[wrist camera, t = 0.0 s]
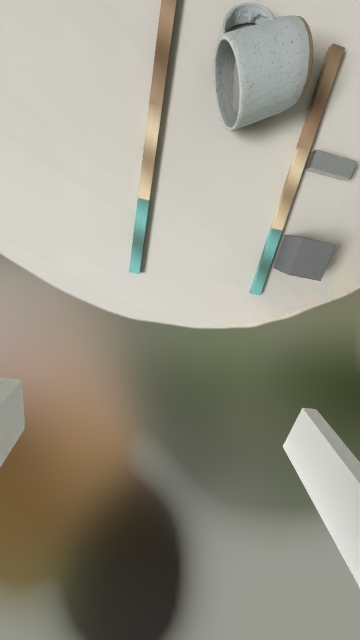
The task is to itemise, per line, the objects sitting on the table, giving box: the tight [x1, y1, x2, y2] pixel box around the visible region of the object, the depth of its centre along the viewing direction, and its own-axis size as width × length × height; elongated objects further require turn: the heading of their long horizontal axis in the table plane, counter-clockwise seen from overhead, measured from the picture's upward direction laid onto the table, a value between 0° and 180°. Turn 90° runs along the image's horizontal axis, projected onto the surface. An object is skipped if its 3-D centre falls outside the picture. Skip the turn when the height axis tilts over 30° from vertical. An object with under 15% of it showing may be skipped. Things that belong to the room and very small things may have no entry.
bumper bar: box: [304, 150, 357, 180], centre depth 32 cm, size 2×6×2 cm, turn 78°
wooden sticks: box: [129, 0, 345, 295], centre depth 32 cm, size 30×21×1 cm
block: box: [273, 235, 336, 281], centre depth 35 cm, size 5×5×5 cm
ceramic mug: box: [214, 3, 313, 131], centre depth 25 cm, size 11×8×8 cm
